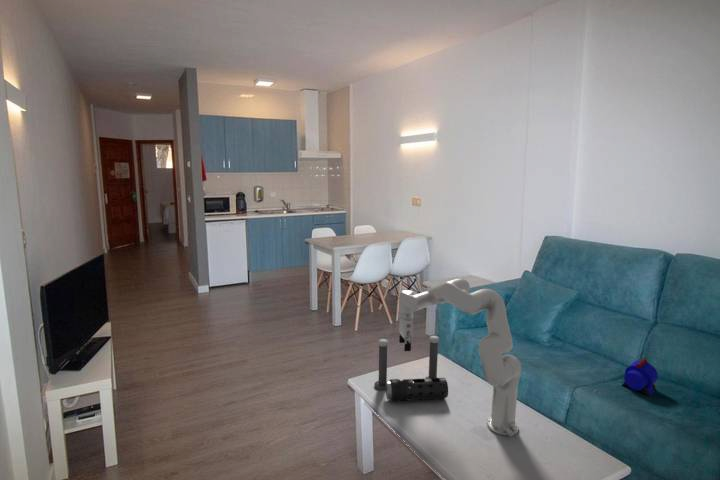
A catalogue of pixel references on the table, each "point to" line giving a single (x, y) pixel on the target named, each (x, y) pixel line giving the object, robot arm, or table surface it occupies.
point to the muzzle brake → (416, 389)
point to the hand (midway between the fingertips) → (404, 346)
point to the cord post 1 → (382, 365)
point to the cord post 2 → (433, 357)
